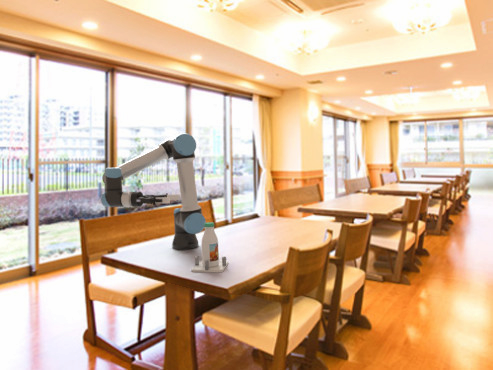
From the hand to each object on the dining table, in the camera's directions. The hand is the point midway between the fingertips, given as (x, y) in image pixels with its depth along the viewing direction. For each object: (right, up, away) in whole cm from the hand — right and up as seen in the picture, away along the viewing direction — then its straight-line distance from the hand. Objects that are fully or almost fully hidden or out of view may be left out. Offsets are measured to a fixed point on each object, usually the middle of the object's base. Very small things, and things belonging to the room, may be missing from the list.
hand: (174, 198), depth 168 cm
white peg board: (+18, -32, -4) cm, 37 cm away
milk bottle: (+18, -31, -5) cm, 36 cm away
